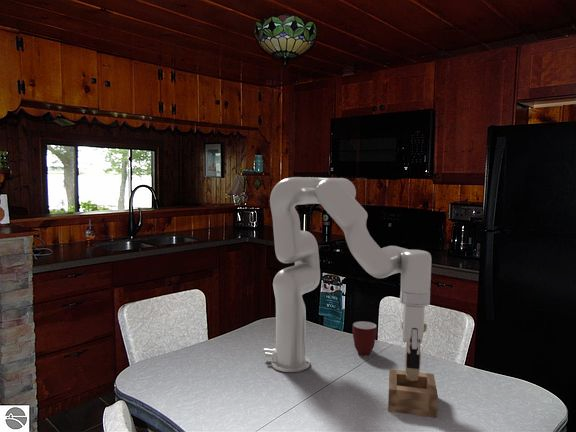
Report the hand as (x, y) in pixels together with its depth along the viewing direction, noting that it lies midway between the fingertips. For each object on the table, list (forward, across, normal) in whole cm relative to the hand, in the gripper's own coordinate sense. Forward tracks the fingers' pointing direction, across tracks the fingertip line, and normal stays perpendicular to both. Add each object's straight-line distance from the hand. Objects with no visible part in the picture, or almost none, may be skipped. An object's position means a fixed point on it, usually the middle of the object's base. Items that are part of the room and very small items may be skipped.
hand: (412, 363), depth 117 cm
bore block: (+11, 0, 0) cm, 11 cm away
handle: (+4, 0, 0) cm, 4 cm away
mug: (+11, -31, -15) cm, 36 cm away
